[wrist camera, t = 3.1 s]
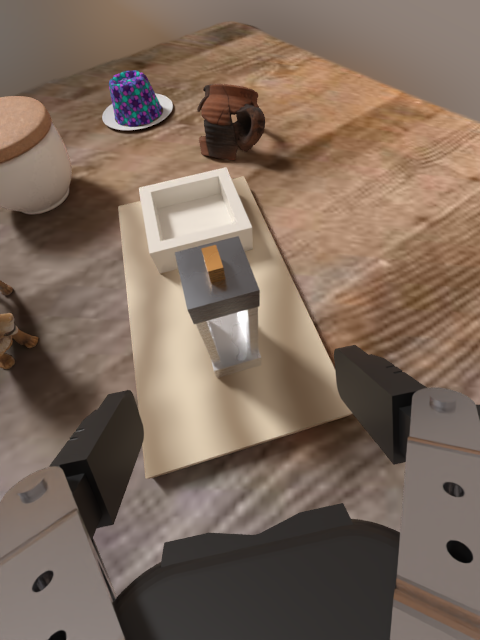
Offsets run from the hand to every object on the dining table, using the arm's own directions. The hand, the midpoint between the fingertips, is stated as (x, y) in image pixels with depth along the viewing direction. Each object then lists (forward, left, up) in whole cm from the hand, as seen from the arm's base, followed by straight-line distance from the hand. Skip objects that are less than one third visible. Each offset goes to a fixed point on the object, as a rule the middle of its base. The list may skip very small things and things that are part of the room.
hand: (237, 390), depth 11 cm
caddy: (+1, +22, -11) cm, 25 cm away
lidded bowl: (-18, +37, -13) cm, 43 cm away
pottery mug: (+9, +39, -13) cm, 42 cm away
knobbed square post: (+1, +7, -11) cm, 13 cm away
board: (0, +14, -13) cm, 19 cm away
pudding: (-3, +54, -13) cm, 56 cm away
